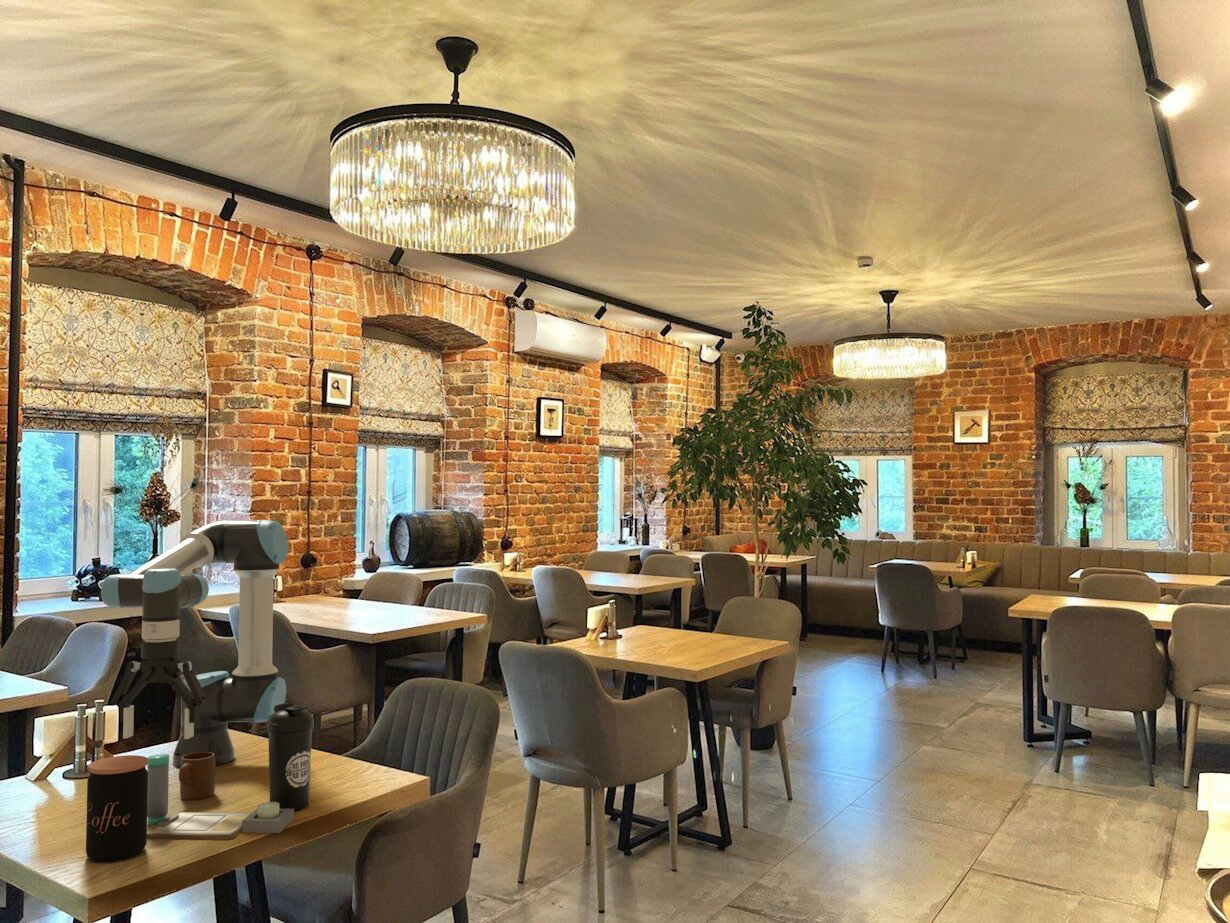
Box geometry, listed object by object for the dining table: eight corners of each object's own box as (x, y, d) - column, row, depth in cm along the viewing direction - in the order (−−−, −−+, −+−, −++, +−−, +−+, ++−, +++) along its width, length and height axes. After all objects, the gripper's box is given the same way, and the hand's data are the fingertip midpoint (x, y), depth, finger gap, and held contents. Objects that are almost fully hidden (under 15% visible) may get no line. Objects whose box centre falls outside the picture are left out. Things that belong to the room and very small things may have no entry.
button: (262, 815, 206) (262, 801, 206) (282, 816, 206) (282, 802, 206) (253, 822, 201) (254, 808, 202) (274, 822, 201) (274, 808, 201)
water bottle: (282, 817, 209) (284, 712, 210) (256, 808, 216) (258, 706, 216) (321, 805, 217) (323, 704, 218) (295, 797, 224) (296, 698, 225)
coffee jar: (72, 862, 183) (74, 768, 184) (111, 842, 194) (113, 753, 194) (121, 866, 181) (123, 771, 182) (158, 846, 192) (159, 756, 193)
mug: (196, 807, 216) (197, 765, 217) (164, 806, 217) (164, 765, 217) (220, 791, 228) (221, 751, 229) (189, 790, 229) (190, 751, 229)
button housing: (257, 819, 208) (257, 808, 208) (293, 820, 207) (293, 808, 207) (241, 832, 200) (241, 820, 200) (279, 833, 199) (279, 821, 199)
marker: (152, 818, 209) (153, 753, 209) (171, 818, 209) (172, 754, 209) (142, 824, 205) (143, 759, 205) (161, 825, 204) (162, 759, 205)
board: (179, 815, 210) (179, 808, 211) (259, 816, 210) (259, 809, 210) (145, 838, 196) (146, 830, 197) (230, 839, 196) (231, 831, 196)
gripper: (95, 641, 205) (92, 740, 204) (208, 642, 204) (206, 742, 203) (115, 636, 213) (112, 732, 212) (223, 637, 211) (222, 733, 210)
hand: (158, 737), depth 207 cm, fingers open, 13 cm apart
